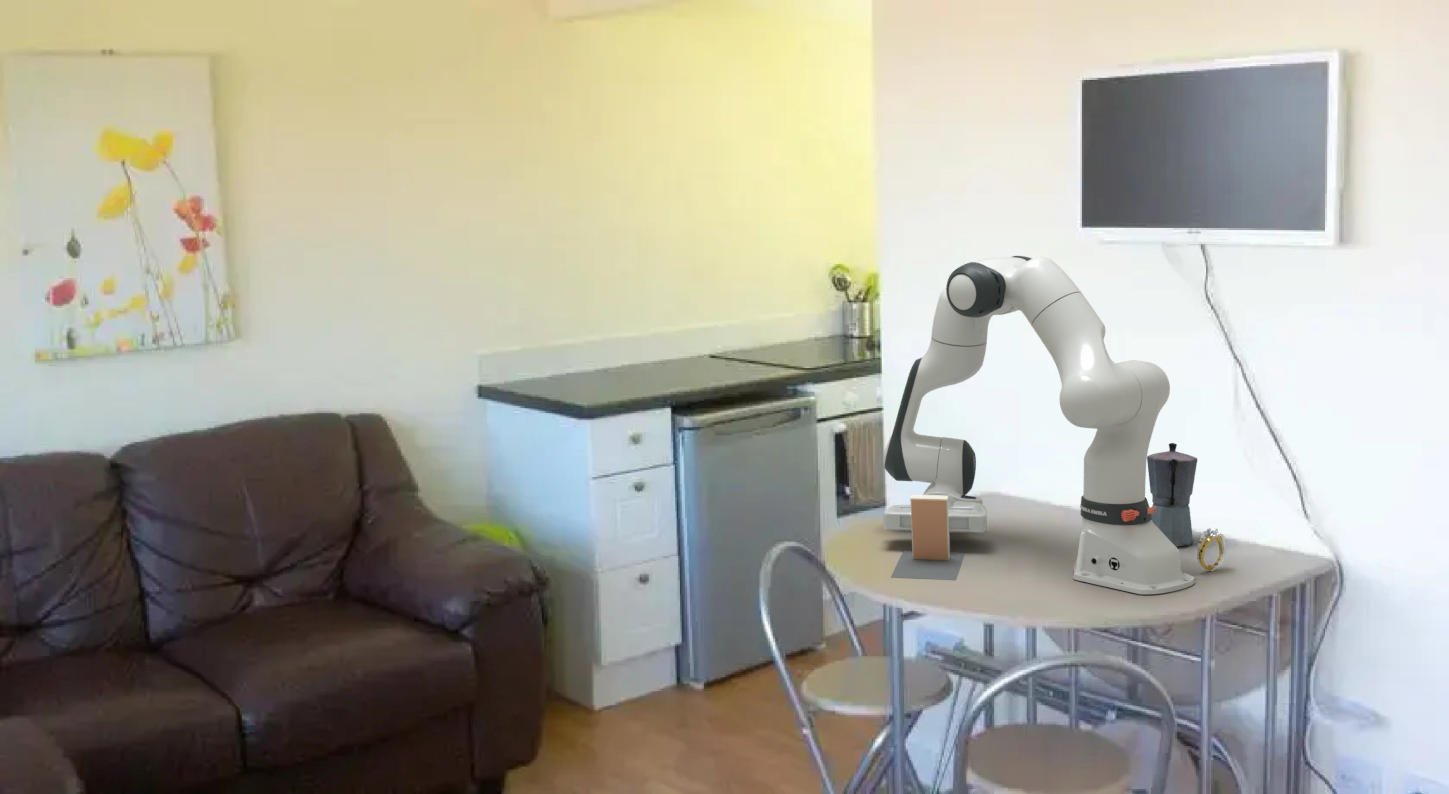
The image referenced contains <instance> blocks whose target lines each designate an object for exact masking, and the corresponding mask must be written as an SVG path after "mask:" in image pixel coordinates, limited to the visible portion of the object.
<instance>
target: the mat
mask: <svg viewBox="0 0 1449 794" xmlns="http://www.w3.org/2000/svg"><path fill="white" fill-rule="evenodd" d="M965 554H966V553H965V552H951V551H950V559H949V560H928V559H913V555H912V550H903V551H902V553H901V554H900V557H899V559H898V561H897V563H896V565H895V567H894V569H893V572H892V573H891V576H890V578H892V579H911V580H912V579H913V580H914V579H916V580H934V581H935V580H937V581H938V580H939V581H943V580H944V581H957V579H958V575H959V572H960V569H961V566H962V564H963V560H964V558H965V557H964V556H965Z"/></svg>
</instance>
